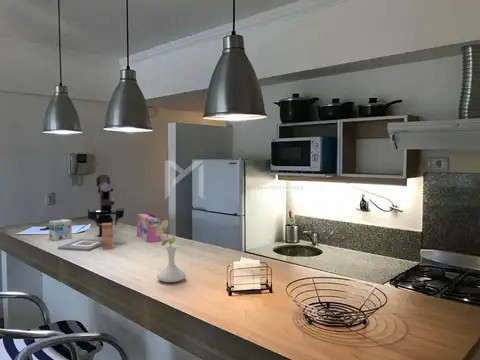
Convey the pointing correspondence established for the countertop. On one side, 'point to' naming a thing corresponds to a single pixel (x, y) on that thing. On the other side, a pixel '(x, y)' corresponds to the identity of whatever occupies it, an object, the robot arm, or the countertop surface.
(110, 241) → the terracotta block
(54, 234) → the light bulb box
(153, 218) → the gum box
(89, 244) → the board
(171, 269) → the flower in vase
